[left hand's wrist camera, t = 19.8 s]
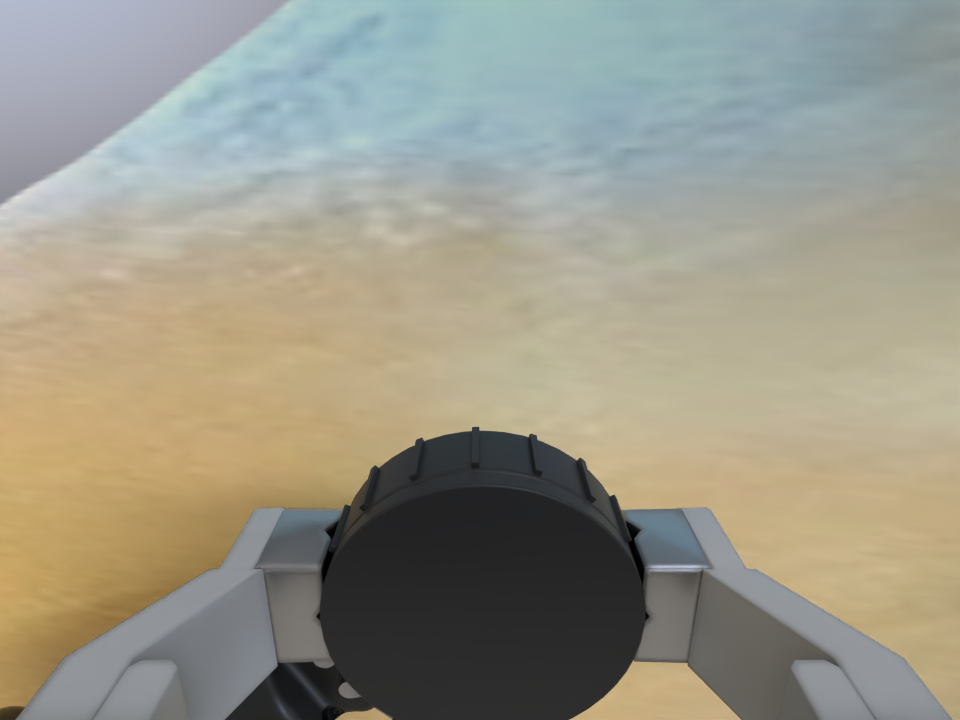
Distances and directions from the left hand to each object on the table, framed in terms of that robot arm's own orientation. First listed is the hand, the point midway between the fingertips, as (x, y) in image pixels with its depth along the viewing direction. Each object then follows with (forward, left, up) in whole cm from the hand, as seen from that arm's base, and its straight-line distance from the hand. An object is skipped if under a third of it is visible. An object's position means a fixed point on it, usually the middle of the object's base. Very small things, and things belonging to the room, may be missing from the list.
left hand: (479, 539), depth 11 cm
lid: (0, 0, +2) cm, 2 cm away
